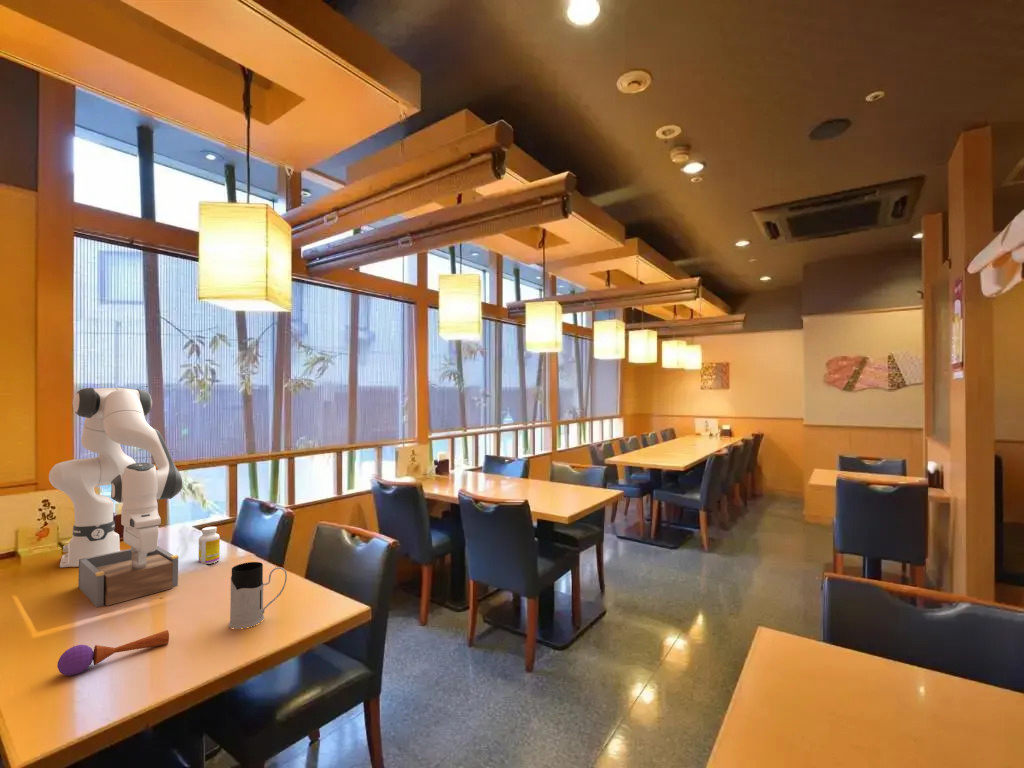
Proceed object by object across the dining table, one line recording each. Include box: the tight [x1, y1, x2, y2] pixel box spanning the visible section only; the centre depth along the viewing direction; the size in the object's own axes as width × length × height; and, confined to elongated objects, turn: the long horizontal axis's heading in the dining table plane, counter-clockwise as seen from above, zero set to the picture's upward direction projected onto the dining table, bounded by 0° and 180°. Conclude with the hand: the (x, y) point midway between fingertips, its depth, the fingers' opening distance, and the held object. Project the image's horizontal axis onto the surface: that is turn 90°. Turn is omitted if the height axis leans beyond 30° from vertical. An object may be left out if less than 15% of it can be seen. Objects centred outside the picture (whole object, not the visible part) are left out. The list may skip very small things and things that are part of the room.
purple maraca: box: [56, 629, 170, 677], centre depth 112 cm, size 6×6×20 cm
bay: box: [77, 545, 179, 608], centre depth 153 cm, size 24×20×11 cm
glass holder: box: [227, 561, 288, 630], centre depth 131 cm, size 9×14×15 cm, turn 111°
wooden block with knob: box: [96, 550, 174, 606], centre depth 149 cm, size 14×16×13 cm
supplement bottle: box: [198, 526, 221, 565], centre depth 178 cm, size 7×7×13 cm
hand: (139, 562), depth 146 cm, fingers closed on wooden block with knob, 3 cm apart
